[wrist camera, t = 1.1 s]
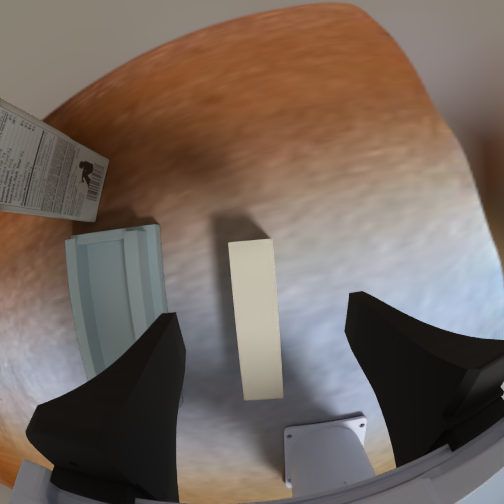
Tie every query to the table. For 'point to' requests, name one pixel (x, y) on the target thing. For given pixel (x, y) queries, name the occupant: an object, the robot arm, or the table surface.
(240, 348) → the beige rectangular block
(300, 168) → the table surface
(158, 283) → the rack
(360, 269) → the table surface
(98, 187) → the food box
